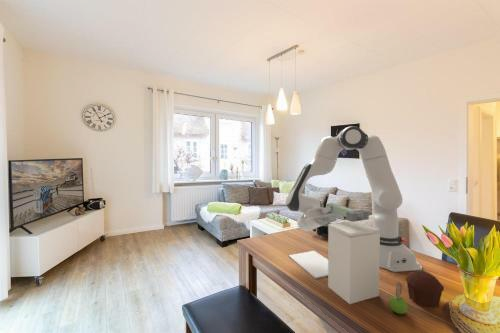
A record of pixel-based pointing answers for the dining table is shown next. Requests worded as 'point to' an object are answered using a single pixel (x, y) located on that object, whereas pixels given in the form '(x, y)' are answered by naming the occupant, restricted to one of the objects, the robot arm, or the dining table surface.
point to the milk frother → (322, 230)
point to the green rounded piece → (398, 301)
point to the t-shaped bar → (349, 213)
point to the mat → (312, 263)
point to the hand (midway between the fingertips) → (335, 207)
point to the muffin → (424, 289)
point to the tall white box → (353, 260)
